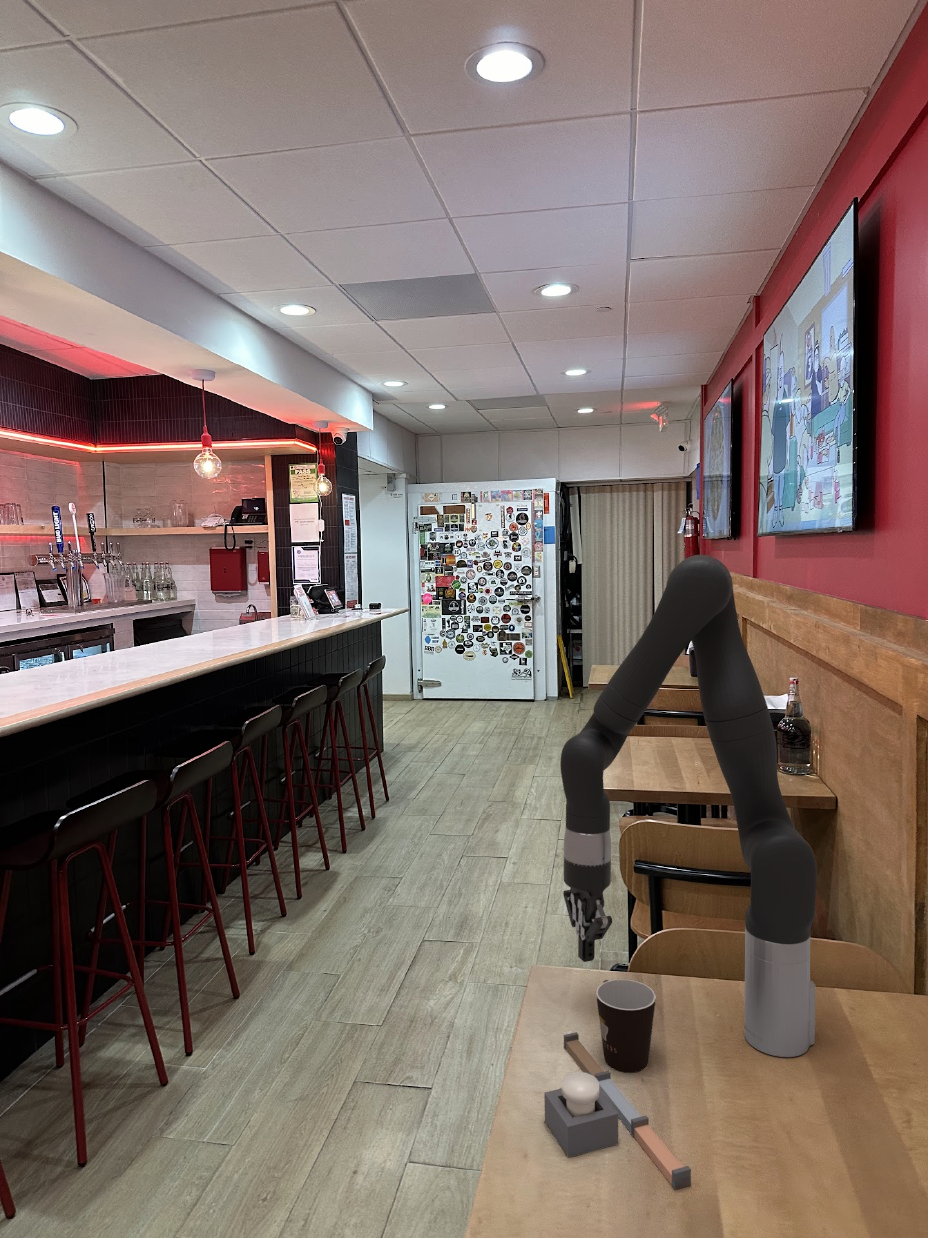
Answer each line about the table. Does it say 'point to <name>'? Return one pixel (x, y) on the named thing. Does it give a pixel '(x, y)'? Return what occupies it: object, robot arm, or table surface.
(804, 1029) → the robot arm
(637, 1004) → the coffee mug
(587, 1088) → the dome plunger
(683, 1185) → the terracotta segment
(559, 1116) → the dome housing
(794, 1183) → the table surface
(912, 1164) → the table surface
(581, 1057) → the walnut segment
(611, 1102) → the slate segment
